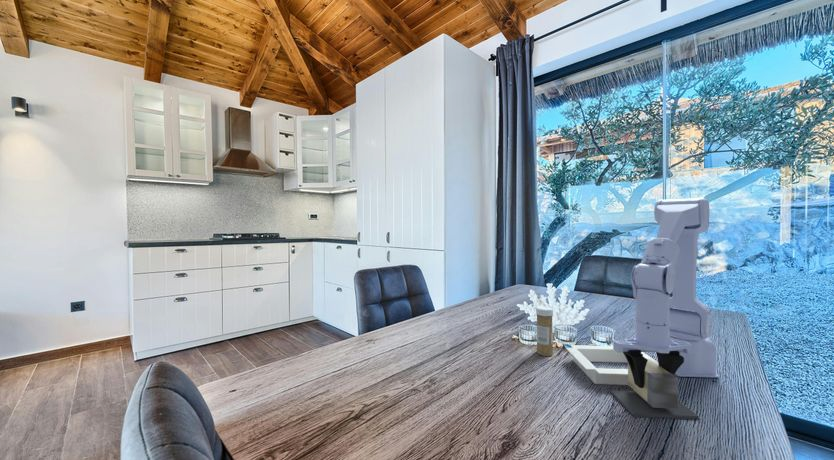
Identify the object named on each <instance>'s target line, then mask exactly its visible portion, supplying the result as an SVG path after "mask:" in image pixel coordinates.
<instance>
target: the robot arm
mask: <svg viewBox="0 0 834 460" xmlns="http://www.w3.org/2000/svg"><path fill="white" fill-rule="evenodd" d="M709 202H710V201H709V200H708V199H707V198H706V197H700V198H681V199H679V198H677V199H675V198H674V199H659V200H657V202H655V205H654V211H653V217H654V220H655V222H656V223H657V225H659V226H658V231H657V234H656V235H657V236H656V238H654V239H651V240H650V241H649V242H648V244H647V247H646V249H645V252H644V255H643V257H642V258H641V262H639V263H637V264H635V265H634V266H633V267H632V270H631V275H630V282H631V288H632V294H633V295H632V296H633V298H634V299H635V338H626V339H617V340H616V339H613V340H612V346H613V349H614V350H615V351H617V352H618V353H623V354H624V355H625V357H626V359H627V361H628V363H629V366H630V368H631V371H632V375H633V378H634V383H635V384H636V385H637V386H638V387H639V388H644V373H645V367H646V364H647V361H648V360H647V359H646V358H645V357H643V354H641V352H644V353H656V357H657V362H658V365H659V366H660V367H662V368H663V369H665V370H666V371H668V372H669V373H672V374H673V375H675V376H676V377H681V378H682V377H684V378H685V377H686V378H687V377H688V378H719V375H718V374H717V370H716V369H717V350H716V349H717V348H716V346H715V343H714V342H713V341H712V339H710V336H711V332H712V317H711V309H710V308H709V306H707V305H706V304H704V303H703V302H702V301H700V300H699V299H698V298H697V268H698V267H697V265H698V263H697V262H698V261H697V260H698V252H697V251H698V240H699V236H700V234H702V233H705V232H708V231H709V228H710V203H709ZM670 294H672V296H671V295H670ZM628 363H627V364H628Z"/></svg>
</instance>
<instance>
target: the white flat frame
mask: <svg viewBox="0 0 834 460" xmlns="http://www.w3.org/2000/svg"><path fill="white" fill-rule="evenodd" d="M565 349H566V351H567V352H568V353H569V354H570V355H571V356H572V361H573V362H574V363H575V364H576V365H577V366H578V367H579V368H580V370H581V371H583V373H584V374H585V375H586V376H587V377H588V378H589V379H590V380H591V381H592V382H593V383H594V384H595V385H615V386H616V385H618V386H619V385H621V386H629V385H628V368H603V367H600V368H597V367H596V366H595V365H594V364H593V363H627V364H628V361H627V359H626V357H625V355H624V354H623V353H618V352H617V351H615V350H614V349H613V345H593V344H592V345H590V344H589V345H588V344H586V345H584V344H583V345H582V344H581V345H580V344H578V345H577V344H576V345H575V344H572V345H571V344H570V347H565ZM641 354H643V357H645V358H646V359H650V360H651V361H653V362H654V363H656V364H657V365H658V360H656V359H654V358H653V357H651V356H650V355H648V354H647V353H646V352H641Z"/></svg>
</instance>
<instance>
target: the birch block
mask: <svg viewBox="0 0 834 460" xmlns="http://www.w3.org/2000/svg"><path fill="white" fill-rule="evenodd" d="M647 360H648V361H647V364H646V367H645V373H644V388H639V387H638V386H637V385H636V384H635V383H634V378H633V375H632V371H631V368H630V366H629V363H627V369H628V385H627V386H629V388H631V389H632V391H635V392H637V393H638V394H639V395H640V396H641V397H642V398H643V399H644V400H646V401H647V403H648V404H650V405H651V406H652V407H653V408H678V401H679V376H677V375H673V374H672V373H669V372H668V371H666V370H665V369H663V368H662V367H660V366H659V365H657V364H656V363H654V362H653V361H651V360H650V359H647Z"/></svg>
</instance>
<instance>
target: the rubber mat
mask: <svg viewBox="0 0 834 460" xmlns="http://www.w3.org/2000/svg"><path fill="white" fill-rule="evenodd" d="M610 394H611V395H612V396H613V397H614V398H615V399H616V400H617V401H618V402H619V403H620V404H621V405H622V407H624V409H626V410H627V411H628V412H629V414H631V416H632V417H634V418H635V417H637V418H657V419H659V418H661V419H662V418H664V419H686V420H687V419H688V420H699V417H700V416H699V415H698V414H697V413H696V412H695V411H693V410H692V409H690V408H689V407H688V406H686V405H685V404H683V402H681V401H680V400H678V408H653V407H652V406H651V405H650V404H648V403H647V401H646V400H644V399H643V398H642V397H641V396H640V395H639V394H638V393H637V392H635V391H634V390H621V389H620V390H617V389H615V390H614V389H613V390H612V389H611V390H610Z"/></svg>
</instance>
